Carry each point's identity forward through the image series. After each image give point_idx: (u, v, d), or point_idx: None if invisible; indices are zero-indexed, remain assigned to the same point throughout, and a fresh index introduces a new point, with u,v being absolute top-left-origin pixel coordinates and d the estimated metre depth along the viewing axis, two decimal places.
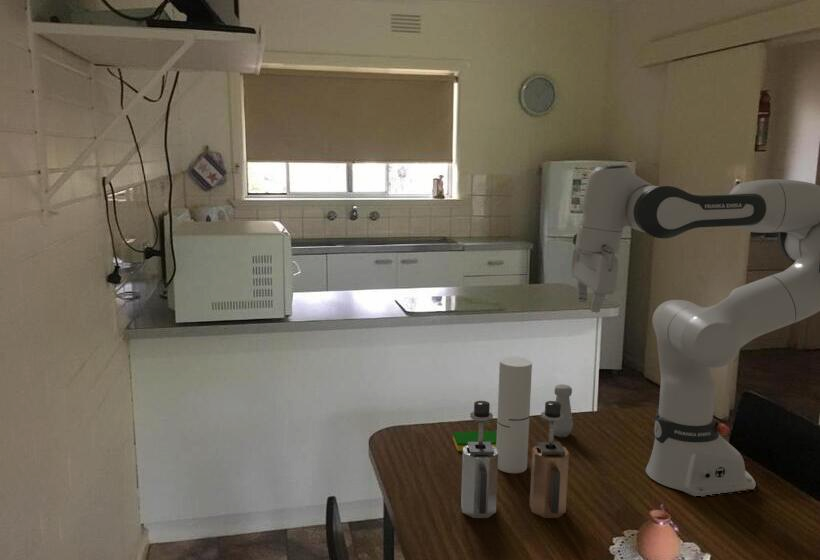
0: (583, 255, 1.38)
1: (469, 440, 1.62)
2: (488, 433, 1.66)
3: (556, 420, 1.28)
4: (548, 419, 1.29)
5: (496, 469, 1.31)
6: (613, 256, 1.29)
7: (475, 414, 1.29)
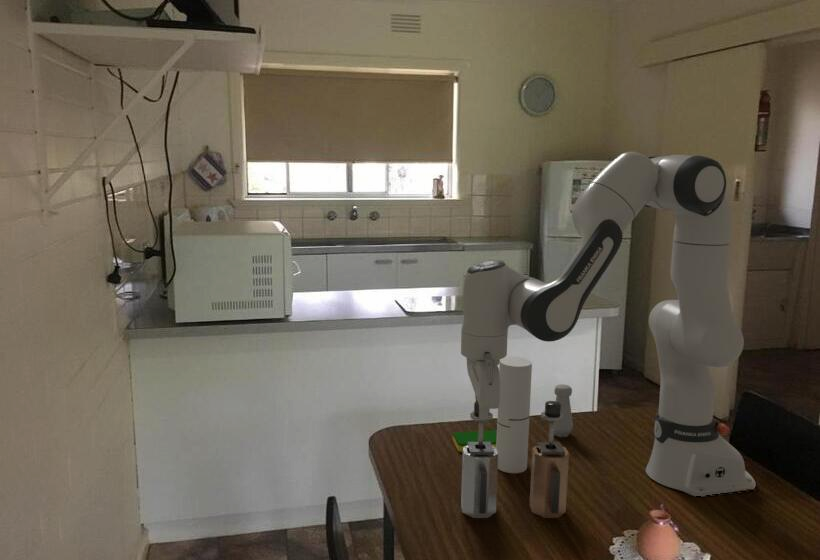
0: (468, 361, 1.27)
1: (470, 440, 1.61)
2: (488, 433, 1.66)
3: (556, 420, 1.28)
4: (548, 419, 1.29)
5: (496, 469, 1.31)
6: (491, 369, 1.18)
7: (475, 414, 1.29)
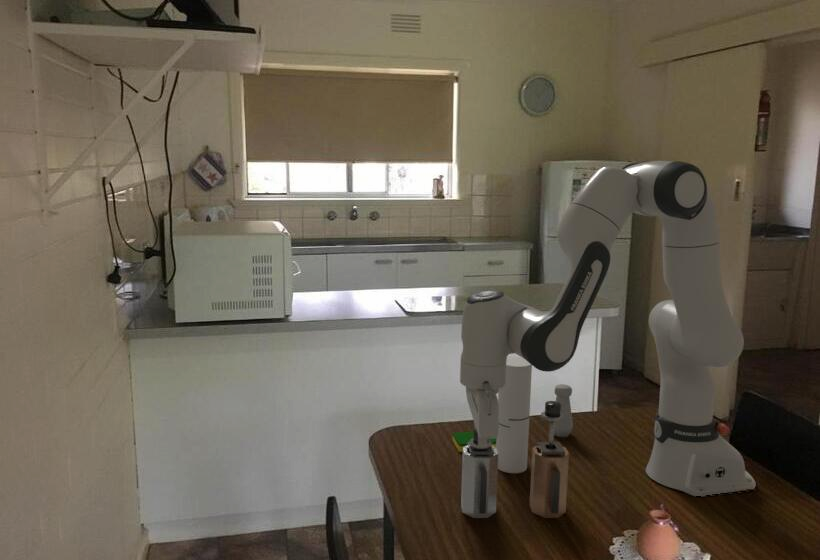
0: (467, 390, 1.28)
1: None
2: None
3: (556, 420, 1.28)
4: (548, 419, 1.29)
5: (496, 469, 1.31)
6: (490, 400, 1.19)
7: (474, 442, 1.30)
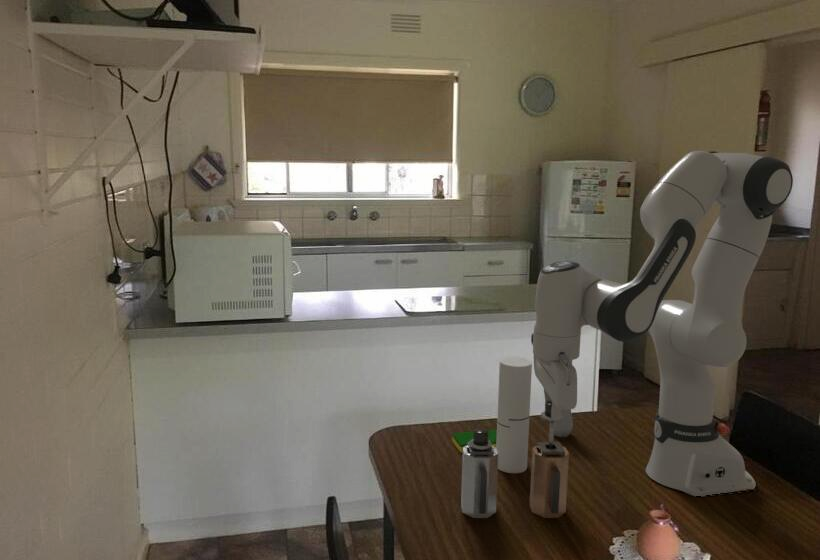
0: (541, 362, 1.27)
1: None
2: None
3: (556, 420, 1.28)
4: (548, 419, 1.29)
5: (496, 469, 1.31)
6: (570, 370, 1.18)
7: (474, 442, 1.30)
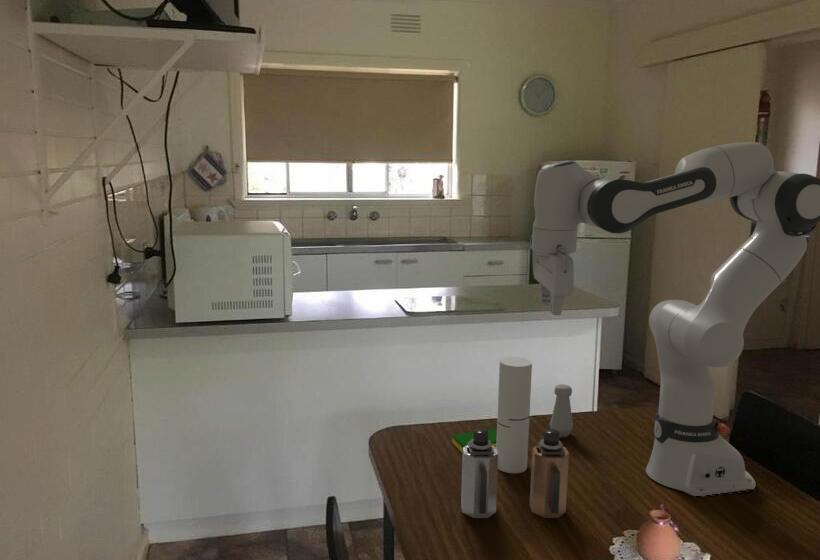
0: (539, 257, 1.34)
1: None
2: None
3: (554, 448, 1.29)
4: (546, 447, 1.30)
5: (496, 469, 1.31)
6: (567, 257, 1.25)
7: (474, 442, 1.30)
